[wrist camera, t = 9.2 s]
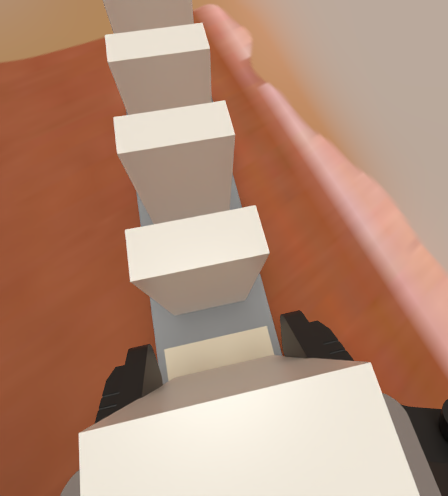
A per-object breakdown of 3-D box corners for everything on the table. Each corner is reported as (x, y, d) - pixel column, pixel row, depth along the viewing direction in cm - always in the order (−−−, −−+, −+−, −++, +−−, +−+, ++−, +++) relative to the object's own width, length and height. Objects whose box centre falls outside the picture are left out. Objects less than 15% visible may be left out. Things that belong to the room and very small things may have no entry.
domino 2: (213, 171, 23) (209, 48, 14) (154, 181, 23) (107, 62, 13) (209, 152, 24) (202, 22, 14) (151, 161, 23) (104, 34, 14)
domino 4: (245, 300, 19) (269, 253, 10) (174, 315, 19) (130, 281, 9) (238, 273, 20) (255, 205, 11) (170, 287, 20) (125, 229, 10)
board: (294, 411, 18) (298, 414, 17) (171, 443, 17) (168, 448, 16) (209, 96, 27) (209, 86, 26) (128, 108, 27) (124, 99, 26)
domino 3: (228, 230, 21) (234, 134, 12) (163, 242, 21) (117, 154, 11) (222, 207, 22) (225, 100, 12) (159, 219, 21) (113, 117, 12)
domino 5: (282, 397, 13) (422, 502, 4) (181, 422, 13) (82, 603, 4) (271, 355, 14) (370, 362, 5) (175, 377, 14) (79, 432, 4)
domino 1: (201, 121, 25) (190, -17, 15) (146, 130, 24) (100, -7, 15) (197, 105, 26) (184, -38, 16) (143, 113, 25) (98, -29, 16)
